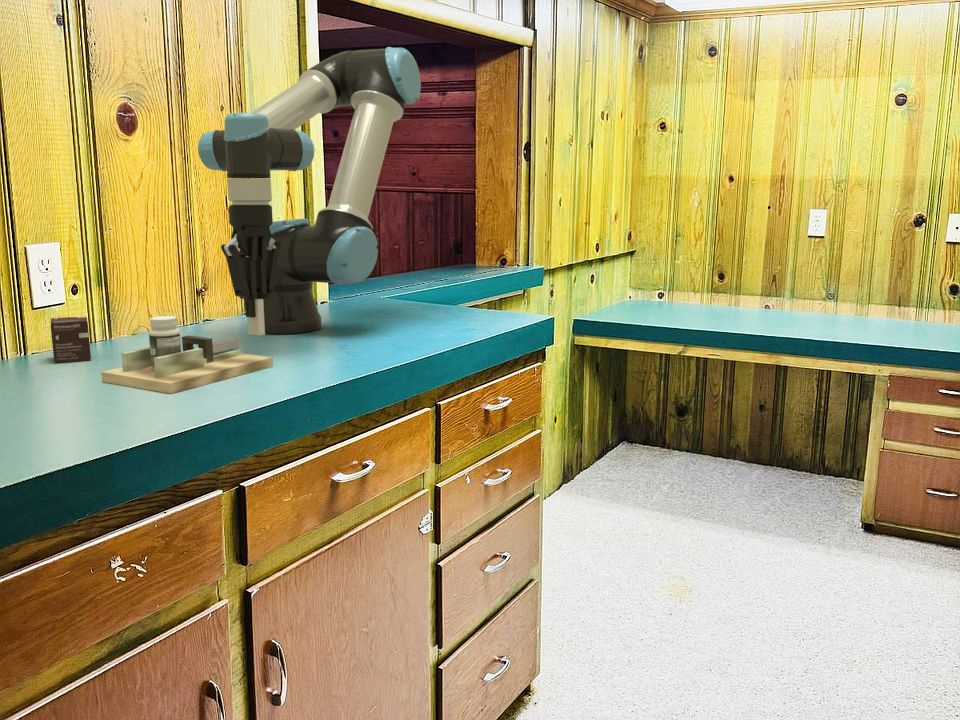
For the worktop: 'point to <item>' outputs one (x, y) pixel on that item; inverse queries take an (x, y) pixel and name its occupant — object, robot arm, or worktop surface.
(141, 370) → the mount
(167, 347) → the pill bottle
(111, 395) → the worktop surface
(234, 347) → the pin
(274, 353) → the worktop surface
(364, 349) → the worktop surface
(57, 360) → the box
